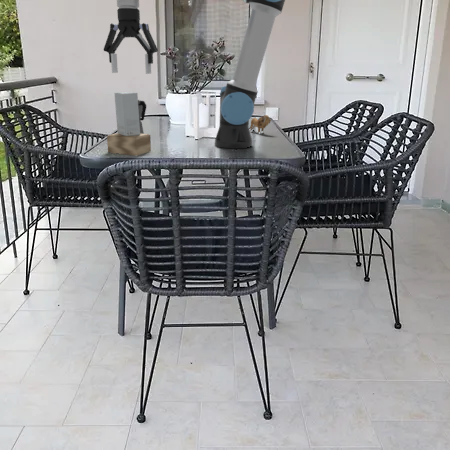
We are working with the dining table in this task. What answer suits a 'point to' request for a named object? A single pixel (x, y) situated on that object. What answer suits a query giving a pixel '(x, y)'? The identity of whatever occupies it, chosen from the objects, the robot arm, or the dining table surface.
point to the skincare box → (127, 113)
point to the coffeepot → (141, 113)
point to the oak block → (129, 144)
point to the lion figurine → (260, 122)
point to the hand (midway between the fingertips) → (131, 73)
